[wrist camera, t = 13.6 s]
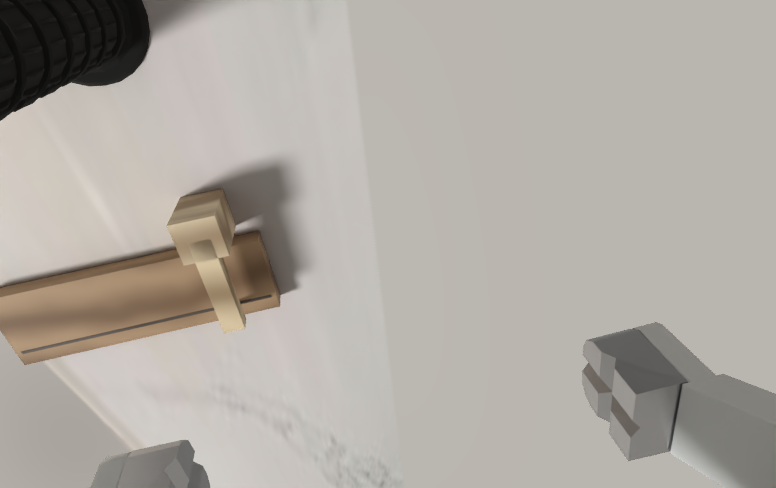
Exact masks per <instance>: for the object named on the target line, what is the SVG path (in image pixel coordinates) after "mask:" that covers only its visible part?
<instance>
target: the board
mask: <svg viewBox="0 0 776 488" xmlns="http://www.w3.org/2000/svg"><path fill="white" fill-rule="evenodd" d="M223 259H224V262H225V264H226V267H227V270H228V272H229V275H230V278H231V280H232V283H233V286H234V288H235V291H236V293H237V296H238V299H239V301H240V304H241V307H242V309H243V312H244V314H248V313H253V312H257V311H261V310H266V309H270V308H274V307H279V306H280V293H279V290H278V287H277V284H276V281H275V278H274V275H273V272H272V269H271V266H270V263H269V260H268V256H267V253H266V250H265V247H264V244H263V241H262V238H261V235H260V232H259V231H256V232H252V233H247V234H243V235H238V236H234V237H233V241H232V246H231V250H230V255H229V256H226V257H223ZM214 321H218V317H217V315H216V312H215V310H214V307H213V305H212V303H211V300H210V298H209V295H208V293H207V290H206V288H205V286H204V283H203V281H202V278H201V276H200V273H199V271H198V269H197V266H196V264H195V263H194V264H190V265H185V266H184V265H183V263H182V260H181V258H180V256H179V253H178V251H177V249H174V250H170V251H165V252H161V253H156V254H152V255H147V256H143V257H138V258H134V259H129V260H124V261H120V262H115V263H111V264H106V265H102V266H97V267H93V268H88V269H84V270H79V271H74V272H70V273H65V274H61V275H56V276H52V277H47V278H43V279H38V280H34V281H29V282H24V283H20V284H15V285H11V286H6V287H2V288H0V331H1V332H2V333H3V335H4V336H5V338H6V339H7V341H8V342H9V343H10V345H11V346H12V348H13V349H14V350H15V352H16V353H17V355H18V356H19V358H20V359H21V360H22V362H23V363H24V365H27V364H31V363H35V362H40V361H44V360H49V359H53V358H57V357H62V356H66V355H70V354H75V353H79V352H83V351H88V350H92V349H96V348H101V347H105V346H109V345H114V344H118V343H122V342H127V341H131V340H136V339H140V338H144V337H149V336H153V335H157V334H162V333H166V332H170V331H175V330H179V329H183V328H188V327H192V326H196V325H201V324H205V323H209V322H214Z"/></svg>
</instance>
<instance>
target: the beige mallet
mask: <svg viewBox="0 0 776 488" xmlns="http://www.w3.org/2000/svg"><path fill="white" fill-rule="evenodd" d="M235 227H236V225H235V222H234V219H233V216H232V214H231V211H230V208H229V205H228V202H227V199H226V196H225V194H224V191H223V189H219V190H214V191H209V192H205V193H200V194H195V195H190V196H186V197H181V198H180V199H179V201H178V203H177V206H176V208H175V210H174V212H173V214H172V216H171V218H170V220H169V222H168V225H167V228H168V230H169V232H170V235H171V237H172V239H173V242H174V244H175V246H176V249H177V251H178V253H179V256H180V258H181V260H182V263H183V265H184V266H185V265H190V264H194V263H195V264H196V266H197V269H198V271H199V273H200V276H201V278H202V281H203V283H204V286H205V288H206V290H207V293H208V295H209V298H210V300H211V303H212V305H213V307H214V310H215V312H216V315H217V317H218V320H219V322H220V324H221V327H222V329H223V332H224V333H227V332H232V331H236V330H240V329H245V324H246V317H245V315H244V312H243V309H242V307H241V304H240V301H239V299H238V296H237V293H236V291H235V288H234V286H233V283H232V280H231V278H230V275H229V272H228V270H227V267H226V264H225V262H224V259H223V257H226V256H229V255H230V250H231V246H232V241H233V236H234V231H235Z"/></svg>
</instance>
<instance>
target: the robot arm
mask: <svg viewBox="0 0 776 488" xmlns="http://www.w3.org/2000/svg"><path fill="white" fill-rule="evenodd" d="M583 355H584V357H585V358H586V360H587V361H588V362H589V363H588V364H587V366H586V367H585V368H584V370H583V371H582V380H583V381H582V382H583V387H584V391H585V395H586V397H587V399H588V401H589V403H590V406H591V407H592V409H593V410H594V412H595V413H596V415H597V416H598V417H600V418H602V419H604V420H606V421H608V422H610V428H609V434H610V435H611V437H612V438H613V440H614V441H615V443H616V444H617V445H618V447H619V448H620V450H621V451H622V453H623V454H624V456H625V457H626V458H627V460H628V461H630V460H635V459H639V458H643V457H648V456H652V455H656V454H660V453H665V452H669V451H671V452H670V454H672V455H673V456H675V457H677V458H678V459H680V460H681V461H683V462H684V463H686V464H688V465H689V466H691V467H692V468H694V469H696V470H697V471H699V472H700V473H702V474H704V475H705V476H707V477H708V478H710V479H712V480H713V481H715V482H716V483H718V484H719V485H721V486H723V487H724V488H776V394H774V393H772V392H769V391H767V390H764V389H761V388H759V387H756V386H753V385H751V384H748V383H745V382H743V381H741V380H738V379H735V378H732V377H730V376H727V375H725V374H721V375H717V376H716V375H715V374H714V373H713V372H712V371H711V370H710V369H709V368H708V367H706V366H705V365H704V364H703V363H702V362H701V361H700V360H699V359H698V358H697V357H696V356H695V355H694V354H693V353H692V352H690V350H689V349H687V347H685V346H684V345H683V344H682V343H681V342H680V341H679V340H678V339H677V338H676V337H675V336H674V335H673V334H672V333H671V332H670V331H668V329H666V328H665V327H664V326H663V325H662V324H659V323H657V322H655V323H651V324H647V325H644V326H640V327H636V328H633V329H628V330H624V331H620V332H616V333H612V334H608V335H604V336H601V337H597V338H593V339H589V340H586V342H585V344H584V348H583ZM194 453H195V451H194V449H193V447H192V446H191V444H190V442H189V441H188V440H180V441H176V442H171V443H167V444H162V445H158V446H153V447H149V448H144V449H139V450H135V451H132V452H128V453H124V454H119V455H115V456H111V457H106V458H105V459H104V460H103V461H102V462H101V464H100V465H99V467H98V470H97V472H96V475H95V477H94V480H93V482H92V485H91V488H210V483H209V480H208V476H207V473H206V471H205V469H204V467H203V466H202V465H200V464H197V463H195V462H193V458H194Z"/></svg>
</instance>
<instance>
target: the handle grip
mask: <svg viewBox="0 0 776 488" xmlns="http://www.w3.org/2000/svg"><path fill="white" fill-rule="evenodd" d="M149 34H150V31H149V23H148V16H147V13H146V10H145V8H144V5H143V2H142V0H0V121H1V120H2V119H4V118H5V117H6V116H7V115H9V114H10V113H11V112H16V111H17V110H19V109H21V108H23V107H25V106H28V105H30V104H33V103H34V102H35V101H36V100H37V99H38V98H42V97H44V96H46V95H48V94H50V93H53V92H55V91H56V90H57V89H58V88H59V87H61V86H62V87H63V86H65V85H67V84H69V83H71V82H72V83H76V84H81V85H86V86H103V85H109V84H113V83H117V82H120V81H122V80H123V79H125V78H126V77H128V76H129V75H131V74H132V73H133V72H134V71H135V70H136V69H137V68H138V66H139V65H140V64H141V63H142V61H143V59H144V56H145V54H146V52H147V49H148V43H149Z"/></svg>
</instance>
